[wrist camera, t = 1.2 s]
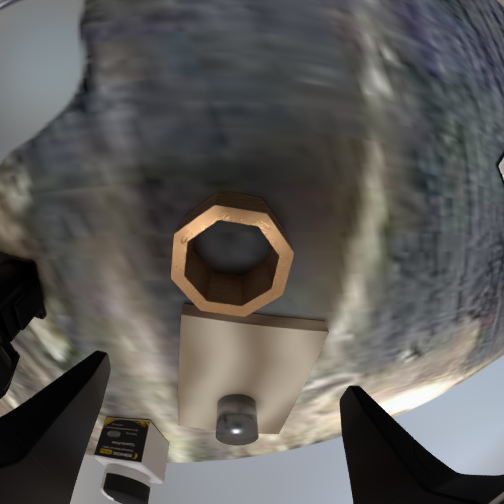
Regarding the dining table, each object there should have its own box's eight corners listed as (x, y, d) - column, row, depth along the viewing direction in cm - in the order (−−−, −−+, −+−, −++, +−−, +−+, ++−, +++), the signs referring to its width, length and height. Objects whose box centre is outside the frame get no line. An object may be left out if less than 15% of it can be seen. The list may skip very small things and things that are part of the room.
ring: (180, 276, 21) (169, 305, 18) (189, 185, 19) (177, 199, 15) (269, 289, 22) (275, 320, 19) (290, 202, 19) (302, 220, 16)
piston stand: (179, 415, 29) (178, 425, 28) (184, 303, 22) (181, 314, 21) (277, 424, 30) (278, 433, 29) (324, 321, 24) (328, 331, 22)
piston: (215, 412, 27) (213, 443, 23) (219, 391, 25) (217, 425, 21) (252, 416, 27) (254, 446, 23) (259, 395, 25) (262, 428, 22)
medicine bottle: (150, 418, 30) (134, 499, 19) (170, 443, 32) (161, 514, 22) (105, 415, 30) (83, 487, 19) (128, 440, 33) (114, 505, 22)
